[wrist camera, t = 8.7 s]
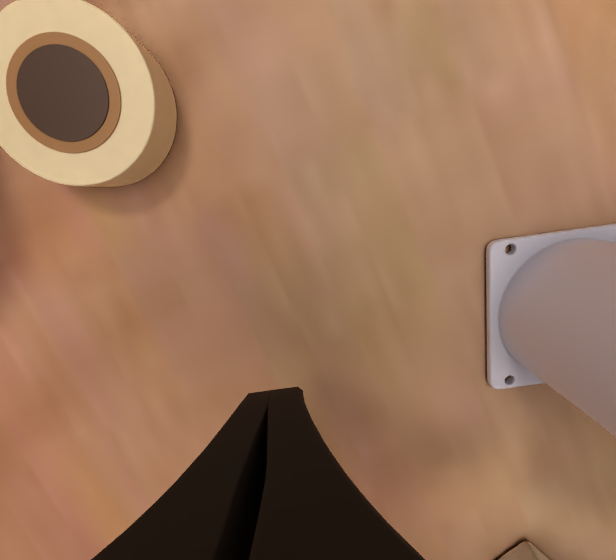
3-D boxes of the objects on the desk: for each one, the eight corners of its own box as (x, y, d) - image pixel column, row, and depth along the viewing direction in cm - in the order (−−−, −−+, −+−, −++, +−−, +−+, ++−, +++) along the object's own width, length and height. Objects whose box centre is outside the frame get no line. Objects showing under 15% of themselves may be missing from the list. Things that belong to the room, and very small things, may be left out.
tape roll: (158, 16, 15) (128, -22, 12) (191, 177, 16) (170, 174, 14) (4, 37, 15) (-60, 3, 12) (51, 195, 16) (4, 196, 14)
